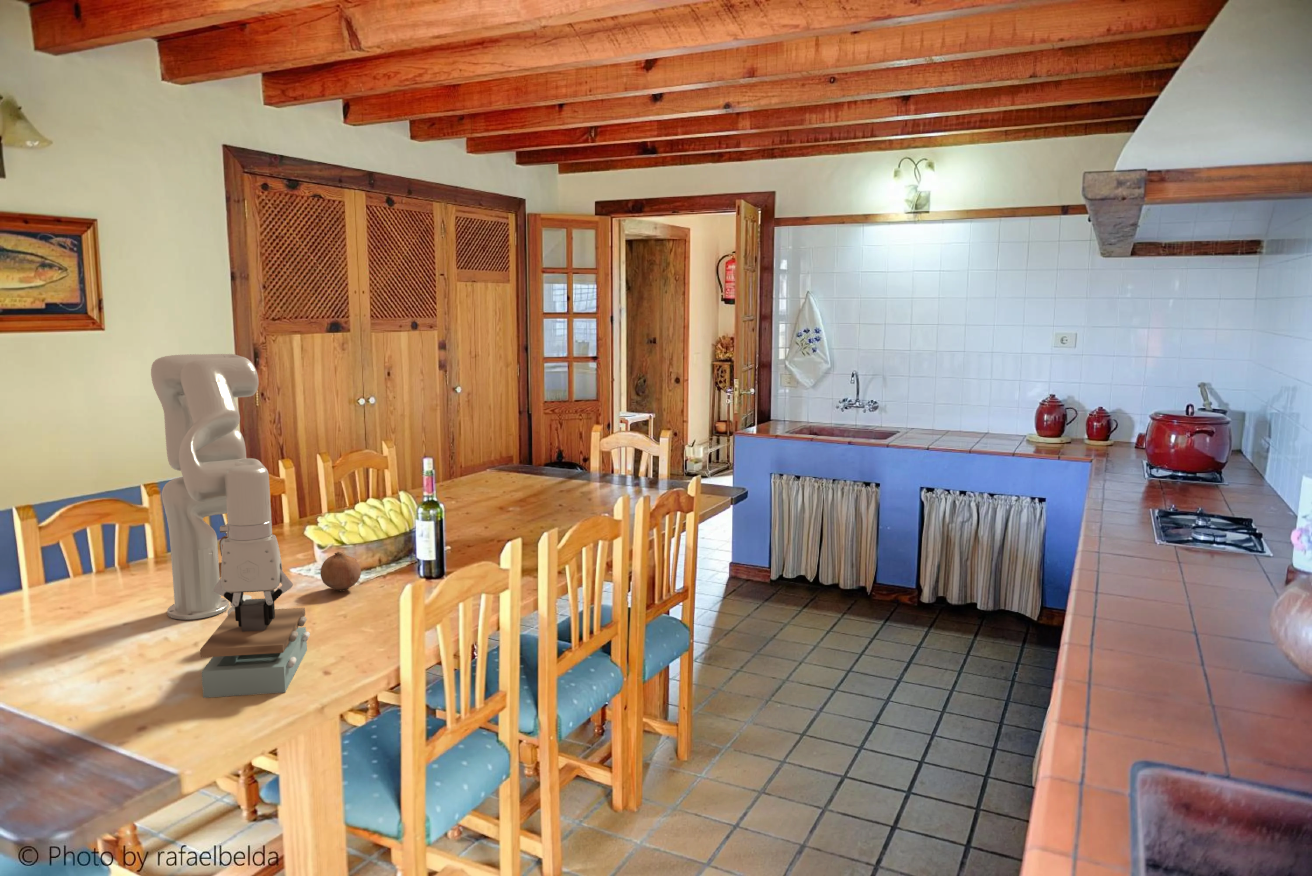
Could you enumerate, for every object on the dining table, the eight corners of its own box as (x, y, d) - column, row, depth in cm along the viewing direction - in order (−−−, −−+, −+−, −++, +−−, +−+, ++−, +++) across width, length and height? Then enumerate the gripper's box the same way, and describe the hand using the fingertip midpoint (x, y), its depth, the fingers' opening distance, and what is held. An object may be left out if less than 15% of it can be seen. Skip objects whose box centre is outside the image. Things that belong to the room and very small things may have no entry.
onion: (315, 590, 218) (313, 551, 216) (351, 582, 224) (349, 544, 223) (331, 600, 211) (330, 559, 209) (368, 591, 217) (367, 552, 216)
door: (232, 618, 177) (230, 587, 176) (311, 614, 179) (309, 583, 178) (200, 657, 157) (198, 623, 156) (290, 652, 160) (288, 618, 159)
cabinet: (234, 654, 178) (232, 631, 177) (313, 650, 181) (312, 626, 180) (203, 697, 158) (201, 671, 158) (292, 692, 161) (290, 666, 161)
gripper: (195, 537, 160) (202, 633, 163) (292, 534, 163) (297, 628, 166) (208, 527, 167) (214, 619, 170) (301, 524, 170) (305, 614, 173)
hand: (255, 622), depth 168 cm, fingers closed on door, 4 cm apart
